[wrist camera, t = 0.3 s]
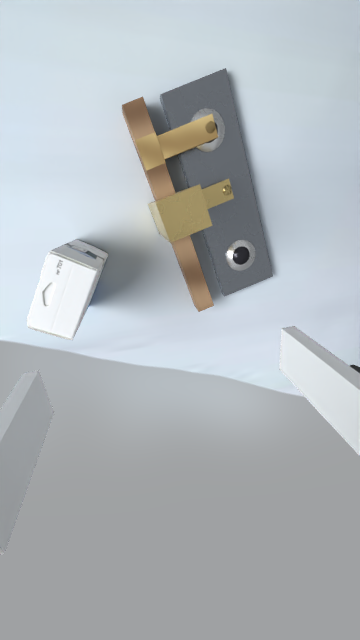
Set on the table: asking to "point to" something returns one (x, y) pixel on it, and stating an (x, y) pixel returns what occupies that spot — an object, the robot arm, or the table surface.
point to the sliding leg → (188, 209)
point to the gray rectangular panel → (215, 166)
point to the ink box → (66, 288)
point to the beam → (154, 165)
